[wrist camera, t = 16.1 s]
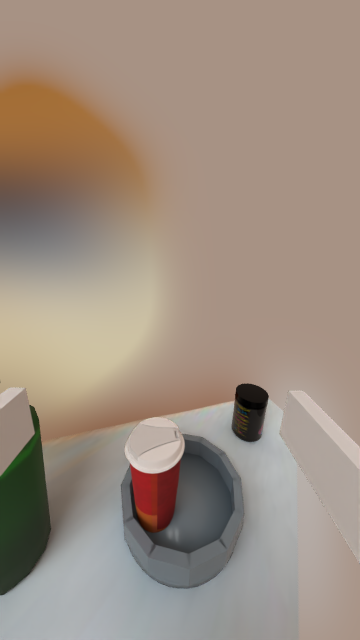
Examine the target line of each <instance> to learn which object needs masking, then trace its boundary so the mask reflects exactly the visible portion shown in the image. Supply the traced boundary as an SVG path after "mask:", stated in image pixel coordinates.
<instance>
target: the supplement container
mask: <svg viewBox="0 0 360 640" xmlns="http://www.w3.org/2000/svg"><path fill="white" fill-rule="evenodd" d="M268 397H269V396H268V393H267V392H266V391H265V390H264V389H262V388H261V387H259V386H256V385H253V384H241V385H239V386H238V387H237V388H236V394H235V403H234V411H233V419H232V429H233V432H234V433H235V435H236V436H237V437H239V438H240V439H242V440H244V441H248V442H254V441H257V440H258V439H259V438H260V437H261V435H262V430H263V424H264V419H265V413H266V408H267V404H268Z"/></svg>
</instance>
